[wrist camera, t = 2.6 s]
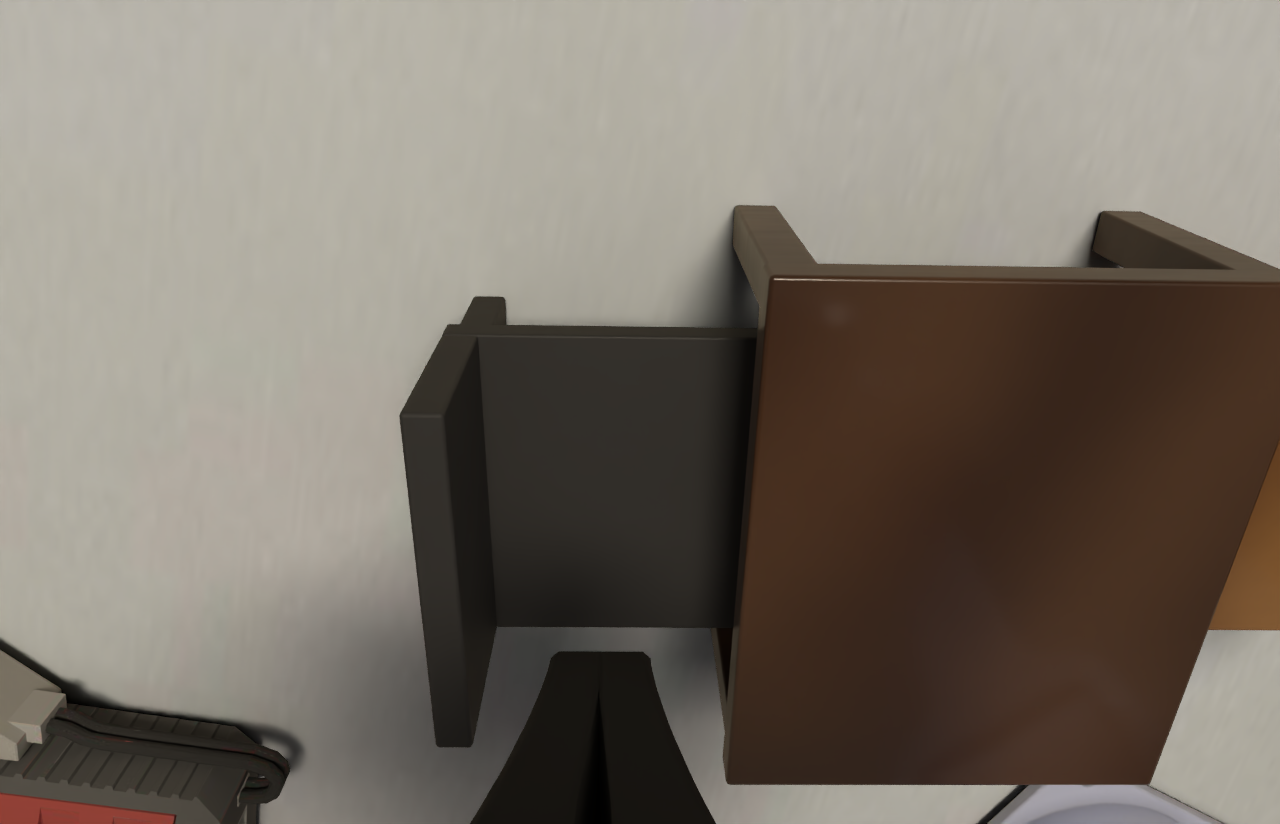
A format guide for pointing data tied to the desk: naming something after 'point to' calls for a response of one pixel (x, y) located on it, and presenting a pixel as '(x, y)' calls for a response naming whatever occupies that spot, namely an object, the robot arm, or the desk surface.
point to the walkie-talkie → (122, 763)
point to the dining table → (989, 506)
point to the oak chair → (1255, 566)
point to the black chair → (571, 486)
